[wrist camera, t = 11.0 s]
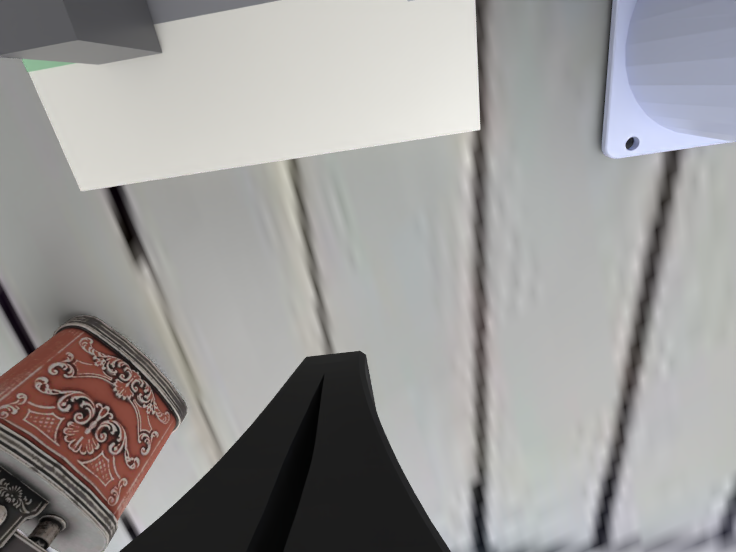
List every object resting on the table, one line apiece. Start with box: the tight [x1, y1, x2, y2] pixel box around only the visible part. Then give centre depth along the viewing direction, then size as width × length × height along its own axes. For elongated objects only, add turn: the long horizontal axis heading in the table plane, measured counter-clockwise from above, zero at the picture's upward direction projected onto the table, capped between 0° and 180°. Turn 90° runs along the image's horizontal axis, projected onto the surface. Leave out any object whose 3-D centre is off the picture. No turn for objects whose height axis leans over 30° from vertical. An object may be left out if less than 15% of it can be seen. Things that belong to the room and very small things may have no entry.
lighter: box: [0, 315, 187, 552], centre depth 18 cm, size 8×3×10 cm, turn 32°
